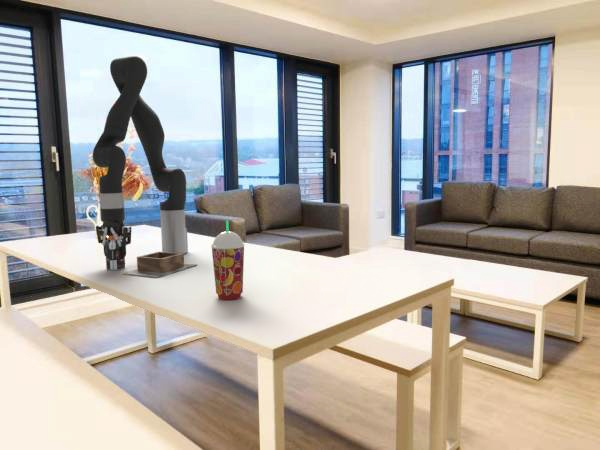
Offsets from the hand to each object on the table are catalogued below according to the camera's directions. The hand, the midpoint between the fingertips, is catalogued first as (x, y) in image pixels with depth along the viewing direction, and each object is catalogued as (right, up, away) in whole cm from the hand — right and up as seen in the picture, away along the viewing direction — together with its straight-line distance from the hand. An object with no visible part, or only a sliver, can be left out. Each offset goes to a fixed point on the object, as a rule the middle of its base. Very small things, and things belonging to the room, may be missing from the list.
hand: (115, 256), depth 163 cm
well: (+16, -4, -3) cm, 17 cm away
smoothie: (+44, -8, -37) cm, 58 cm away
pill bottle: (0, -4, +1) cm, 4 cm away
